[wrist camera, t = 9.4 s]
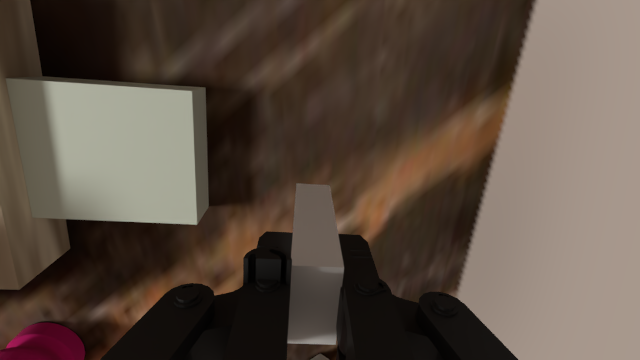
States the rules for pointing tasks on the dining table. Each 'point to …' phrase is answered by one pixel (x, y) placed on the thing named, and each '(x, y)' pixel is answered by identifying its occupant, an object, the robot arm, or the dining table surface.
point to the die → (319, 357)
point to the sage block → (112, 149)
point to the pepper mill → (44, 344)
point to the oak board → (20, 162)
